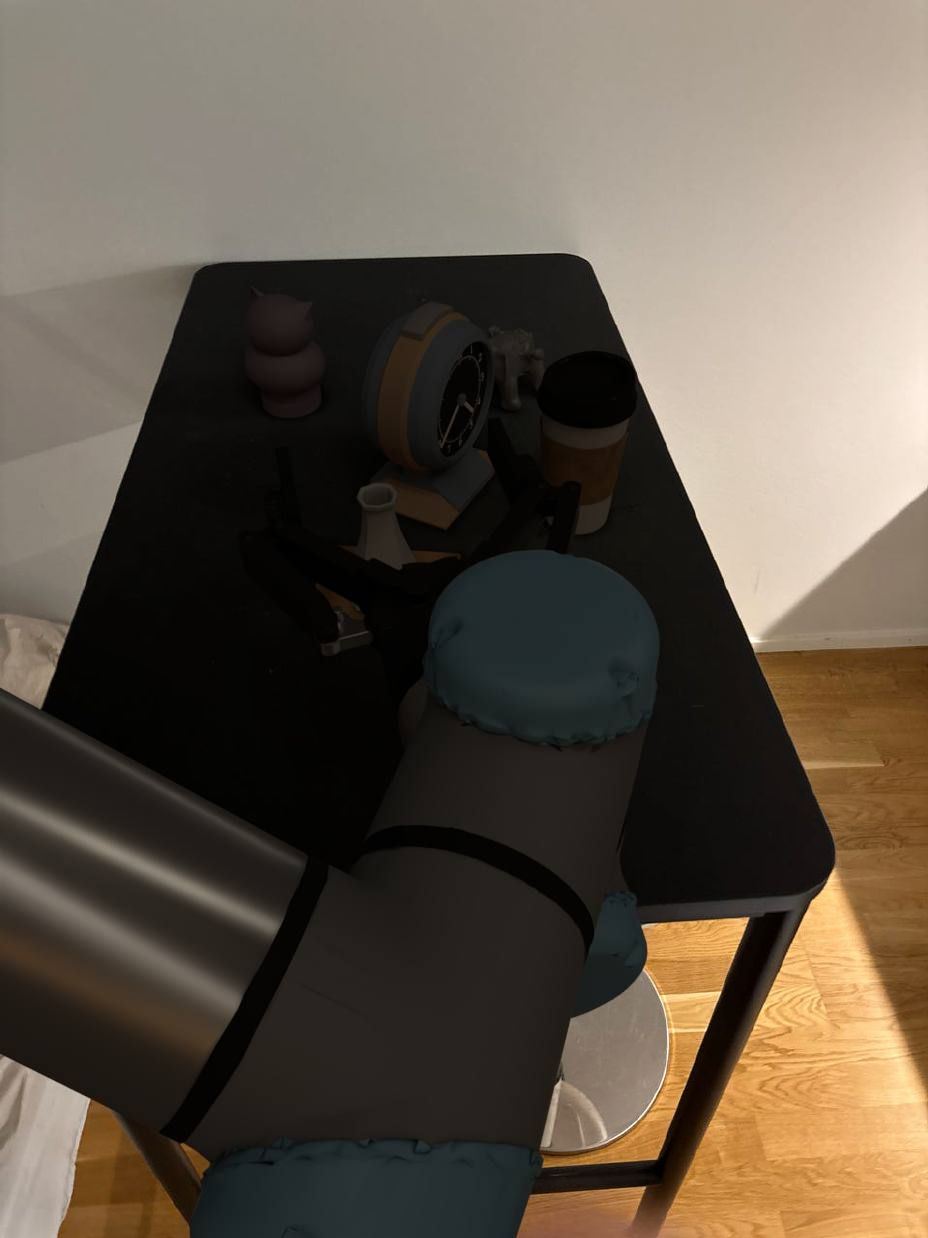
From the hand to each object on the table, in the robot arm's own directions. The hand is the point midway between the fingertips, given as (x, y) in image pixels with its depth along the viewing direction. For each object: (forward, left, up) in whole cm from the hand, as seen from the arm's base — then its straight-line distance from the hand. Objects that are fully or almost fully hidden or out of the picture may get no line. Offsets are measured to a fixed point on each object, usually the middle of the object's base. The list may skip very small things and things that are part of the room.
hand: (390, 449), depth 63 cm
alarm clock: (-1, +25, -22) cm, 33 cm away
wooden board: (-3, +9, -21) cm, 23 cm away
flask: (-3, +9, -21) cm, 23 cm away
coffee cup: (+13, +21, -22) cm, 33 cm away
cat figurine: (-18, +37, -22) cm, 47 cm away
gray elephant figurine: (+4, +39, -22) cm, 45 cm away
